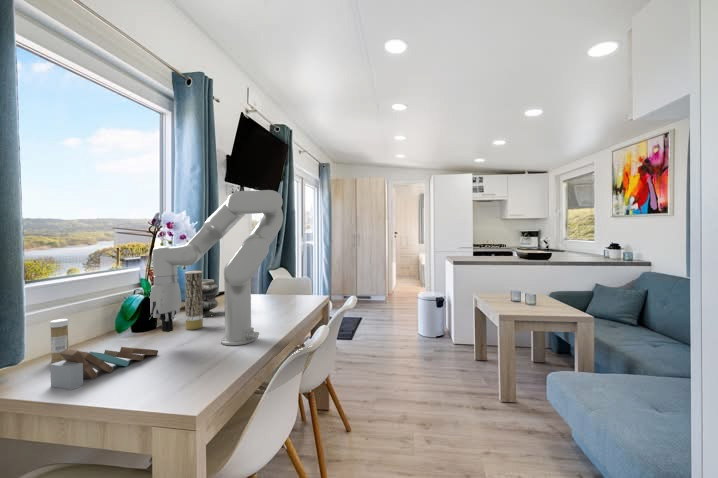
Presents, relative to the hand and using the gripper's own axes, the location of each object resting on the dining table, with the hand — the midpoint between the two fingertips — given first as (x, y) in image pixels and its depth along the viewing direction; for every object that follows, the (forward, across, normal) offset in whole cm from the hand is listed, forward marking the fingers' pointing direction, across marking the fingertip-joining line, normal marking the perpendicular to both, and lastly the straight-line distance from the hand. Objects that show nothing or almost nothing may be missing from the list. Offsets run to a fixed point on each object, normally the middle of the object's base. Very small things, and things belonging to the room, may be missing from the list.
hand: (167, 331), depth 125 cm
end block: (+6, +32, -1) cm, 33 cm away
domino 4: (+6, +12, -1) cm, 13 cm away
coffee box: (+6, -24, -33) cm, 41 cm away
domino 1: (+6, +27, -1) cm, 27 cm away
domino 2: (+6, +22, -1) cm, 22 cm away
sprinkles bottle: (+6, +19, -25) cm, 32 cm away
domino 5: (+6, +6, 0) cm, 8 cm away
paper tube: (+7, -25, -12) cm, 29 cm away
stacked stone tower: (+7, -48, -26) cm, 54 cm away
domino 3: (+6, +17, -1) cm, 18 cm away
